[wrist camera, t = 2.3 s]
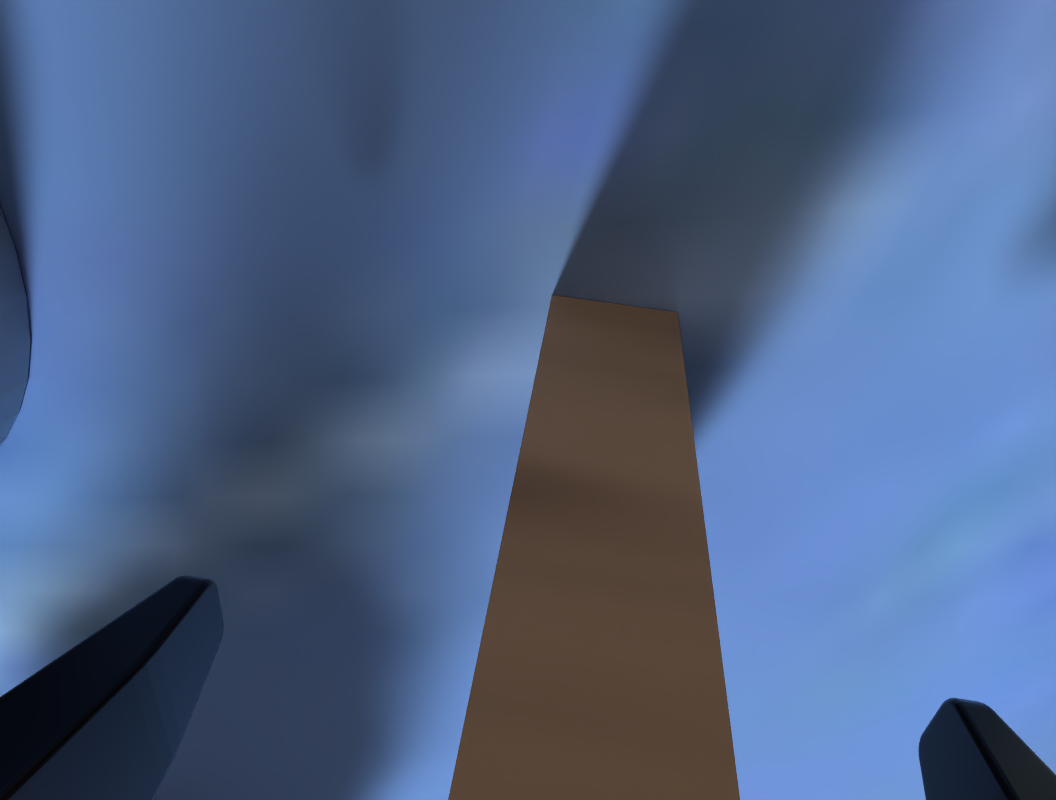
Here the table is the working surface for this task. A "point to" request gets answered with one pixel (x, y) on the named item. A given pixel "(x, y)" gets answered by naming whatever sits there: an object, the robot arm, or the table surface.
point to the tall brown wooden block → (602, 584)
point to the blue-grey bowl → (12, 333)
